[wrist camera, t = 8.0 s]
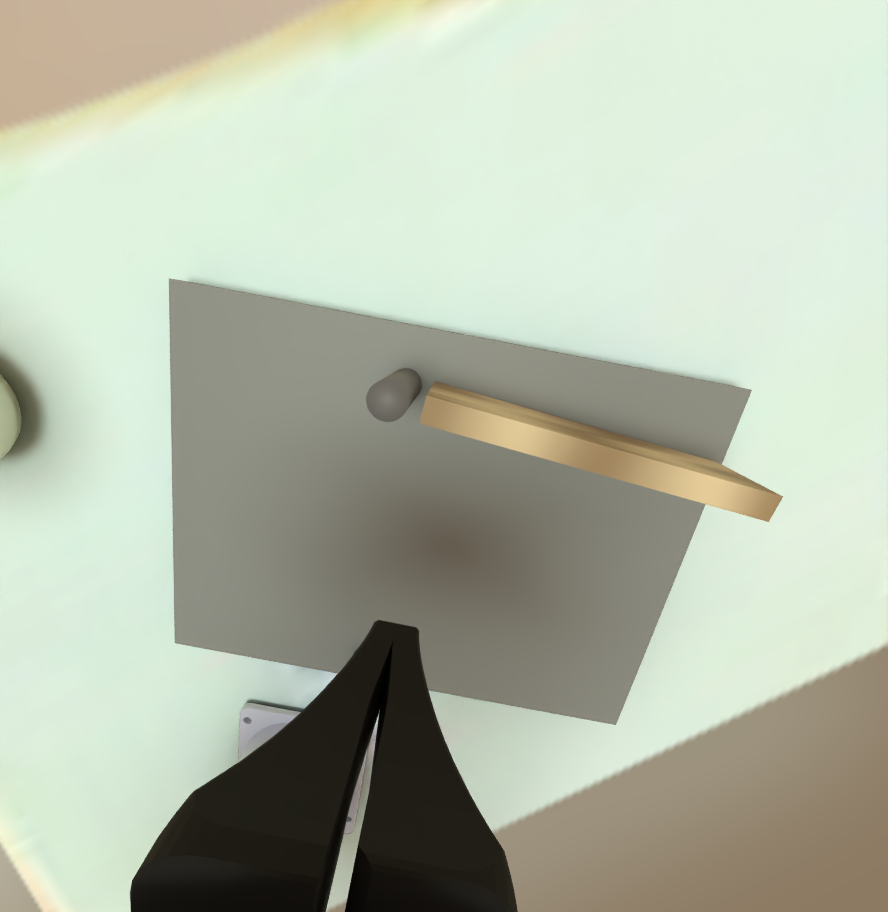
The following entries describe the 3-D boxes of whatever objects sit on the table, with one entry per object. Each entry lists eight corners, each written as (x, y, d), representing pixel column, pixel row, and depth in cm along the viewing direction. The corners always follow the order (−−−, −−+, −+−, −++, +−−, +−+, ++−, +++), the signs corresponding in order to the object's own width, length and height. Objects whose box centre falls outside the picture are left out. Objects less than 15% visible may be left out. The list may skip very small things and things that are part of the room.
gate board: (608, 706, 24) (651, 818, 19) (188, 628, 24) (105, 717, 18) (734, 386, 18) (849, 409, 13) (187, 281, 18) (67, 259, 13)
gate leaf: (715, 461, 18) (782, 496, 14) (705, 482, 18) (768, 521, 14) (434, 381, 18) (426, 395, 14) (428, 403, 18) (419, 423, 14)
